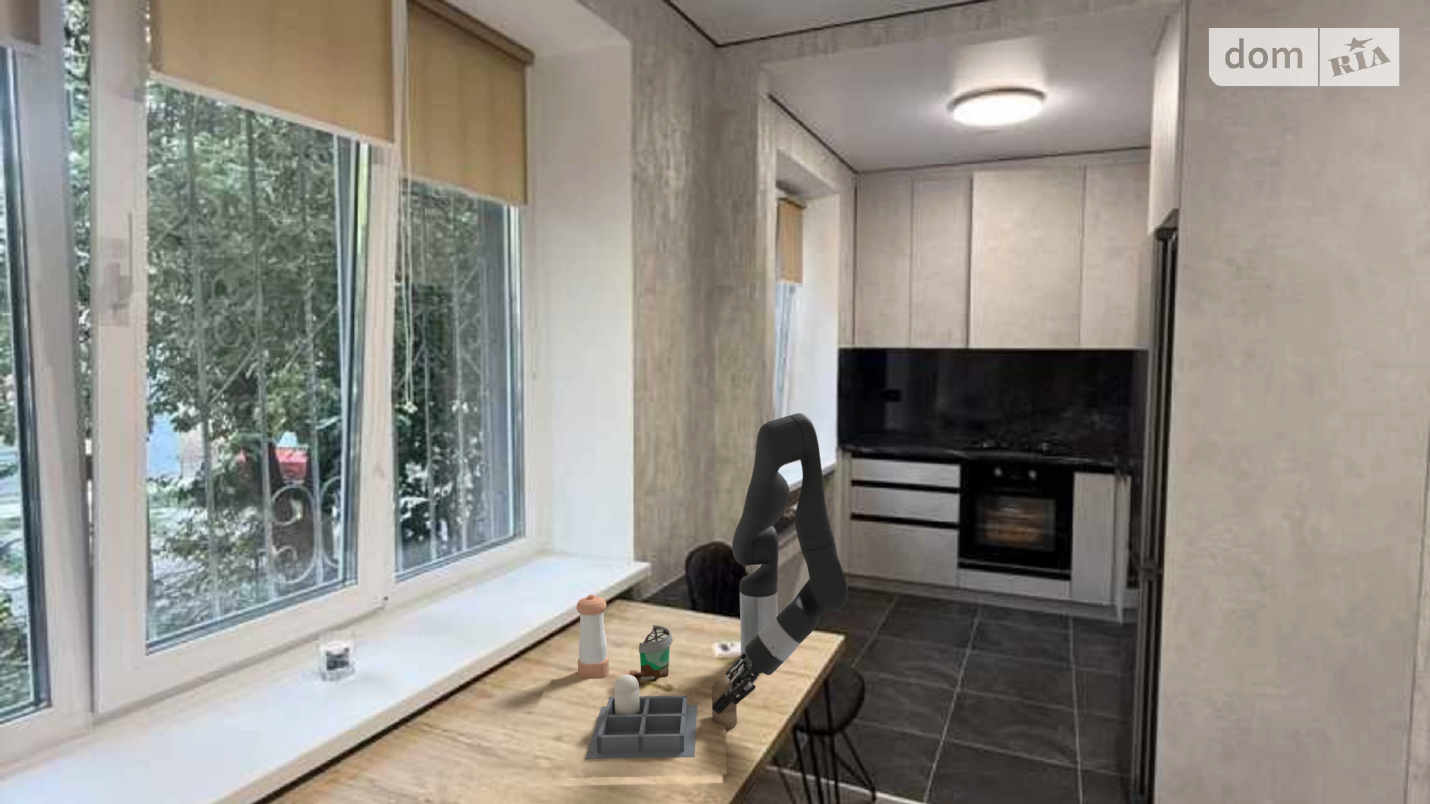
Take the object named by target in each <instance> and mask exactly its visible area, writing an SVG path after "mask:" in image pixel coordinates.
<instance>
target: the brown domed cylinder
mask: <svg viewBox="0 0 1430 804" xmlns="http://www.w3.org/2000/svg"><path fill="white" fill-rule="evenodd" d="M730 681H731V679H729V678H727V677H726V676H722V677H719V678H717V679H716V680H714V682H713V684H712V686H711V706H712V705H713V704H714V703H715V702H716V701H717V700H718V699H719V698H720V697H721V696H722V695H723V694H724V693H725V691H726V690H727V689H728V688H729V686H730ZM735 694H736V693H734V694H733V695H735ZM737 705H738V704H736V705H735V704H734V703H732V702H731V703H730V704H729V705H728V706H727V707H726V708H725V709H724V710H723V711H722V712H721V713H720V714H717V713H716V712H715V711H714V710H713V709H712V708H711V713H712V714H711V715H712V717H711V718H712V721H713V722H714V724H716V725H721V726H724V727H725V729H724V730H730V729H733V728H735V727H736V726H737V725H736V724H738V713H737V712H738V711H737Z"/></svg>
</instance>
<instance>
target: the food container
mask: <svg viewBox="0 0 1430 804" xmlns="http://www.w3.org/2000/svg"><path fill="white" fill-rule="evenodd" d="M638 644H639V645H638V653H639V661H640V664H639V665H640V677H641V680H643V681H644V680H645V681H646V680H655V679H659V678H660V679H661V678H668V677H667V676H669V670H670V669H669V667H670V647H671V646H672V644H673V635H672V633H671V631H670V629H668V628H667V627H665V626H662V625H656V624H653V625H652V630H651V632H650V633H649V634H647V636H646V637H645V639H644V641H643V642H638Z"/></svg>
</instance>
